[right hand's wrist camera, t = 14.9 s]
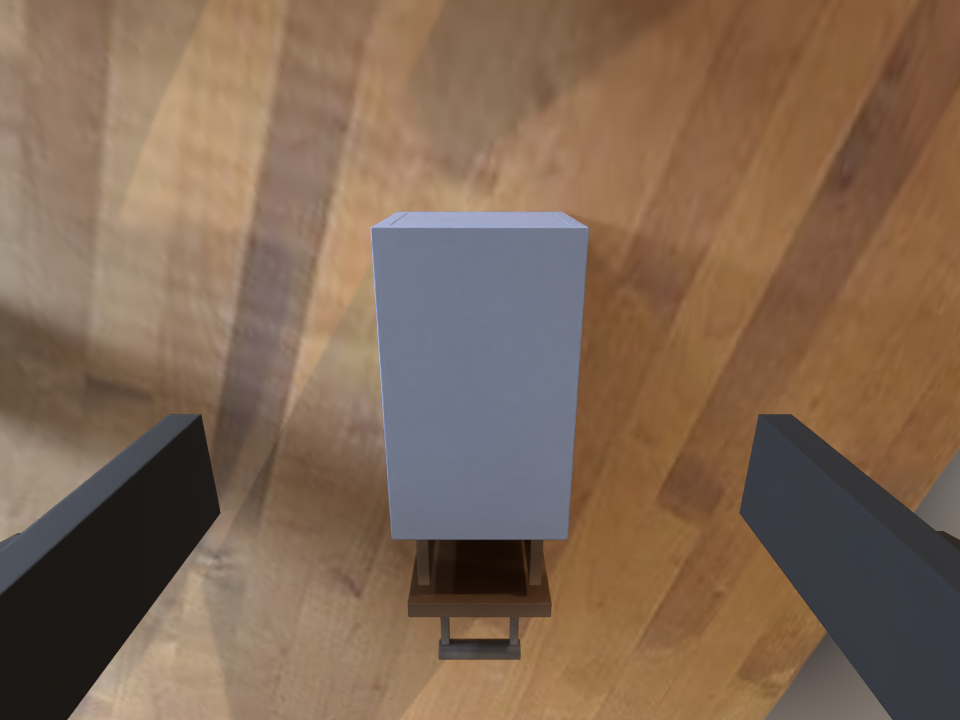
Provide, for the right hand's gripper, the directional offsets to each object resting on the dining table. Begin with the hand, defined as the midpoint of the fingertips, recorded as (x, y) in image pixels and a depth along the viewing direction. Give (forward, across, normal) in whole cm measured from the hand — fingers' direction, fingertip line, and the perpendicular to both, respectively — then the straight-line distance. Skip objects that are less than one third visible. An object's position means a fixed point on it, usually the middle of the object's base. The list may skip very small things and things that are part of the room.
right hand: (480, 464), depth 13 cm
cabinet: (+26, 0, -6) cm, 26 cm away
